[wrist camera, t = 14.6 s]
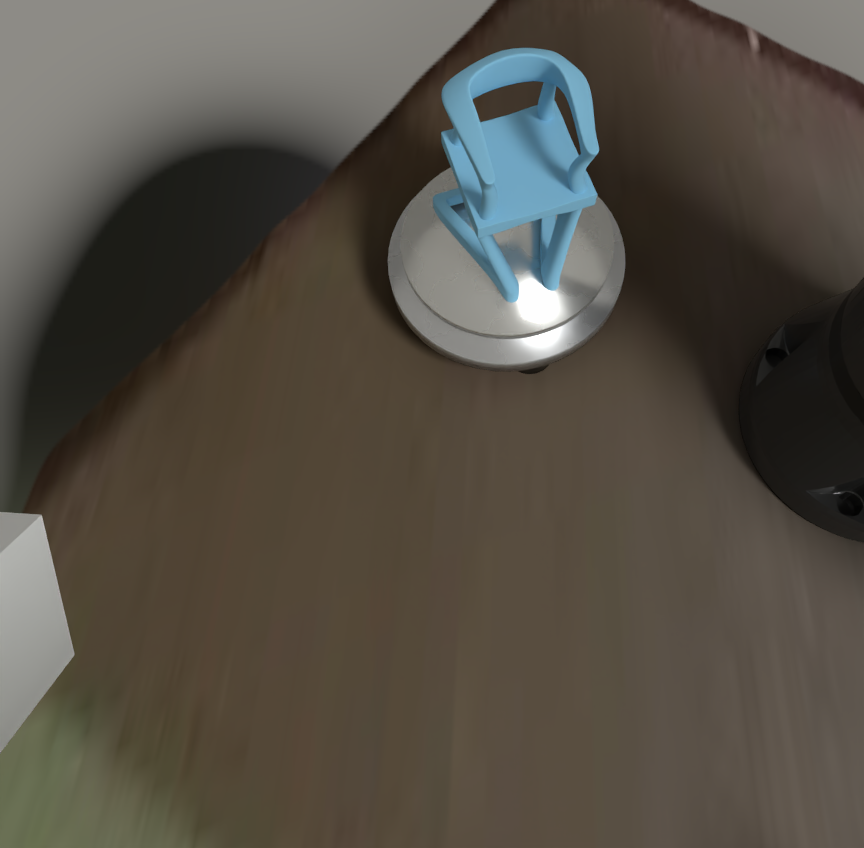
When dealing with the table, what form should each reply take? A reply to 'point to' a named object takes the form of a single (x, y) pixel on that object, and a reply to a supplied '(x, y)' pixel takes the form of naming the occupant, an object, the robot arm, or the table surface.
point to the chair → (518, 162)
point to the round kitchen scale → (482, 301)
